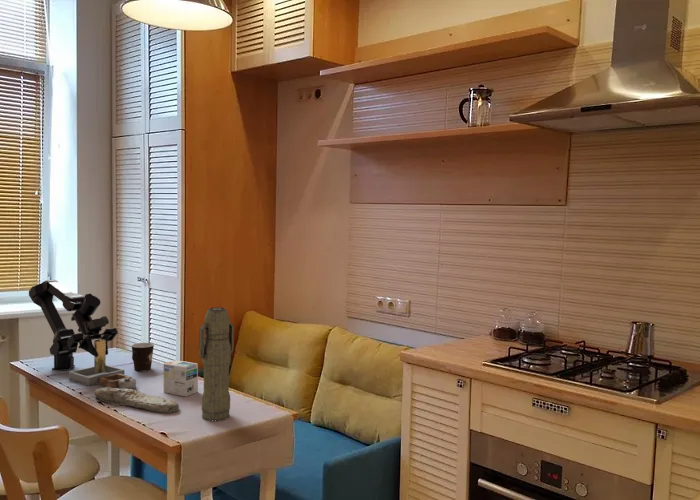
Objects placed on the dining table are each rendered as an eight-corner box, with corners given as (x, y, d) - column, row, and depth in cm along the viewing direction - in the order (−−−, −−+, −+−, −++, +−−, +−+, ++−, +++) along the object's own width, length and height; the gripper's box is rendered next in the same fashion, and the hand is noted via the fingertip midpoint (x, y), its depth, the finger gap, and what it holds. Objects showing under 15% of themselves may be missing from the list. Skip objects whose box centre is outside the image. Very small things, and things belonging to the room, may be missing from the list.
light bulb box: (198, 392, 225) (198, 362, 224) (186, 397, 218) (186, 367, 218) (175, 387, 229) (175, 359, 228) (162, 392, 223) (162, 363, 222)
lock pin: (92, 372, 235) (92, 341, 234) (97, 370, 239) (97, 339, 238) (102, 373, 235) (102, 342, 234) (107, 370, 239) (107, 339, 238)
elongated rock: (165, 421, 198) (185, 414, 207) (166, 405, 198) (187, 398, 207) (85, 398, 212) (107, 392, 221) (86, 383, 212) (108, 378, 221)
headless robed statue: (239, 415, 201) (240, 308, 199) (210, 424, 192) (211, 312, 190) (221, 409, 207) (222, 305, 204) (192, 417, 198) (193, 309, 195)
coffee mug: (145, 365, 259) (145, 341, 258) (158, 369, 254) (158, 344, 253) (120, 370, 250) (120, 346, 249) (133, 374, 245) (133, 349, 244)
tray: (69, 379, 236) (69, 371, 235) (104, 371, 248) (104, 364, 248) (89, 385, 228) (89, 377, 228) (124, 377, 241) (124, 369, 240)
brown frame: (98, 384, 231) (98, 375, 230) (118, 379, 237) (118, 371, 237) (122, 391, 222) (122, 383, 222) (142, 386, 229) (142, 378, 229)
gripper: (71, 313, 230) (88, 347, 224) (115, 307, 245) (132, 338, 240) (59, 331, 235) (76, 364, 229) (103, 324, 250) (120, 355, 245)
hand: (102, 355), depth 236 cm, fingers closed on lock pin, 4 cm apart
